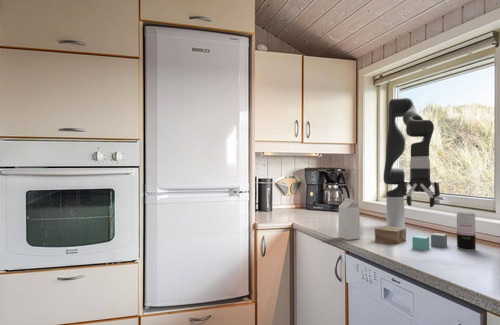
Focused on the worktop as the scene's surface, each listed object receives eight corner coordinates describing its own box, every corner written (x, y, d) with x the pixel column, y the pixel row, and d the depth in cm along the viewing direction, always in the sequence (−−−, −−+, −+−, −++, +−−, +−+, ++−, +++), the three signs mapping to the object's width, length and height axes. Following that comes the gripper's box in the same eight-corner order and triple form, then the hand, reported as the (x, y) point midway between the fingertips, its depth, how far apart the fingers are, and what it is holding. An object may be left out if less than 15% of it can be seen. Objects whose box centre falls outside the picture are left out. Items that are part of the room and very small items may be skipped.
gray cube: (434, 244, 155) (434, 232, 155) (447, 245, 151) (447, 234, 151) (431, 246, 151) (430, 234, 151) (443, 247, 148) (443, 235, 148)
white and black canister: (458, 246, 150) (458, 211, 150) (476, 248, 145) (476, 212, 146) (455, 249, 145) (455, 212, 145) (474, 251, 140) (474, 214, 141)
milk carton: (346, 240, 163) (346, 199, 163) (338, 237, 170) (338, 198, 170) (359, 239, 165) (359, 199, 165) (351, 236, 171) (351, 197, 172)
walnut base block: (384, 238, 168) (384, 226, 168) (405, 241, 160) (405, 228, 160) (375, 241, 161) (374, 228, 161) (396, 245, 153) (396, 231, 153)
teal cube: (416, 246, 149) (416, 235, 149) (429, 248, 146) (429, 236, 146) (412, 248, 146) (412, 236, 146) (425, 250, 142) (425, 238, 142)
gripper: (441, 167, 144) (441, 206, 144) (405, 167, 154) (406, 204, 154) (435, 167, 139) (436, 208, 138) (399, 167, 148) (399, 205, 148)
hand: (420, 206), depth 146 cm, fingers open, 8 cm apart
